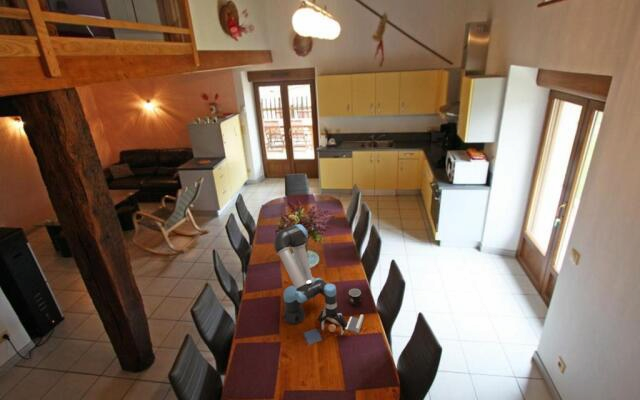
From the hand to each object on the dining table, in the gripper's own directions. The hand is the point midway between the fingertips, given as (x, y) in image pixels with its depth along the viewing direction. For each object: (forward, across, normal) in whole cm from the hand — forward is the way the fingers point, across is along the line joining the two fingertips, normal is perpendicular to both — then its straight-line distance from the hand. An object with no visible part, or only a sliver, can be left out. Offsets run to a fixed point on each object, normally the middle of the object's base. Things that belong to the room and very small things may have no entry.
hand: (332, 331), depth 223 cm
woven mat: (+1, -11, -9) cm, 14 cm away
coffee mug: (0, +8, +29) cm, 30 cm away
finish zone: (0, +12, +10) cm, 16 cm away
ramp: (0, -4, +10) cm, 11 cm away
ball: (-2, 0, 0) cm, 2 cm away
